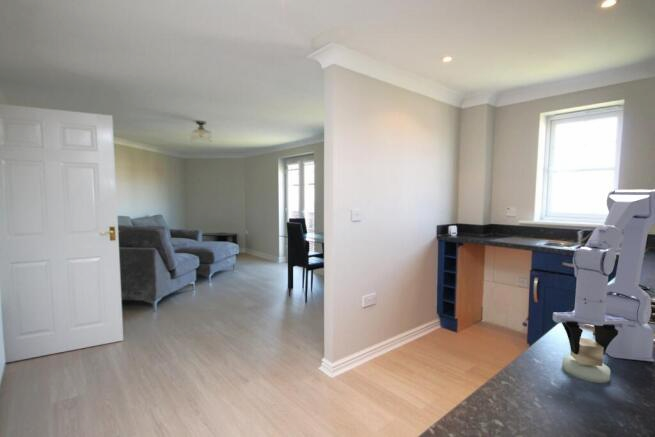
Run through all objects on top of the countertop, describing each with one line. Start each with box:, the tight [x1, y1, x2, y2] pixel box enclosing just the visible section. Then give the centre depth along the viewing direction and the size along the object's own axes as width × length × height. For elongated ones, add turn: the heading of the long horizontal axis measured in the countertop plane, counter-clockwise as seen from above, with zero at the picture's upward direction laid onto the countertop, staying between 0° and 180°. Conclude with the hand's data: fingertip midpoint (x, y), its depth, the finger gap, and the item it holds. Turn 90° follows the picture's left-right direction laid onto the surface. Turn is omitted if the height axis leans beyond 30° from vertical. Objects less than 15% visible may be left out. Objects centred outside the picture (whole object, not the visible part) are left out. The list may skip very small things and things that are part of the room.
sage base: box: [561, 354, 611, 384], centre depth 79 cm, size 9×9×2 cm
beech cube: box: [569, 337, 604, 366], centre depth 78 cm, size 4×4×4 cm
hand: (586, 353), depth 78 cm, fingers closed on beech cube, 4 cm apart
